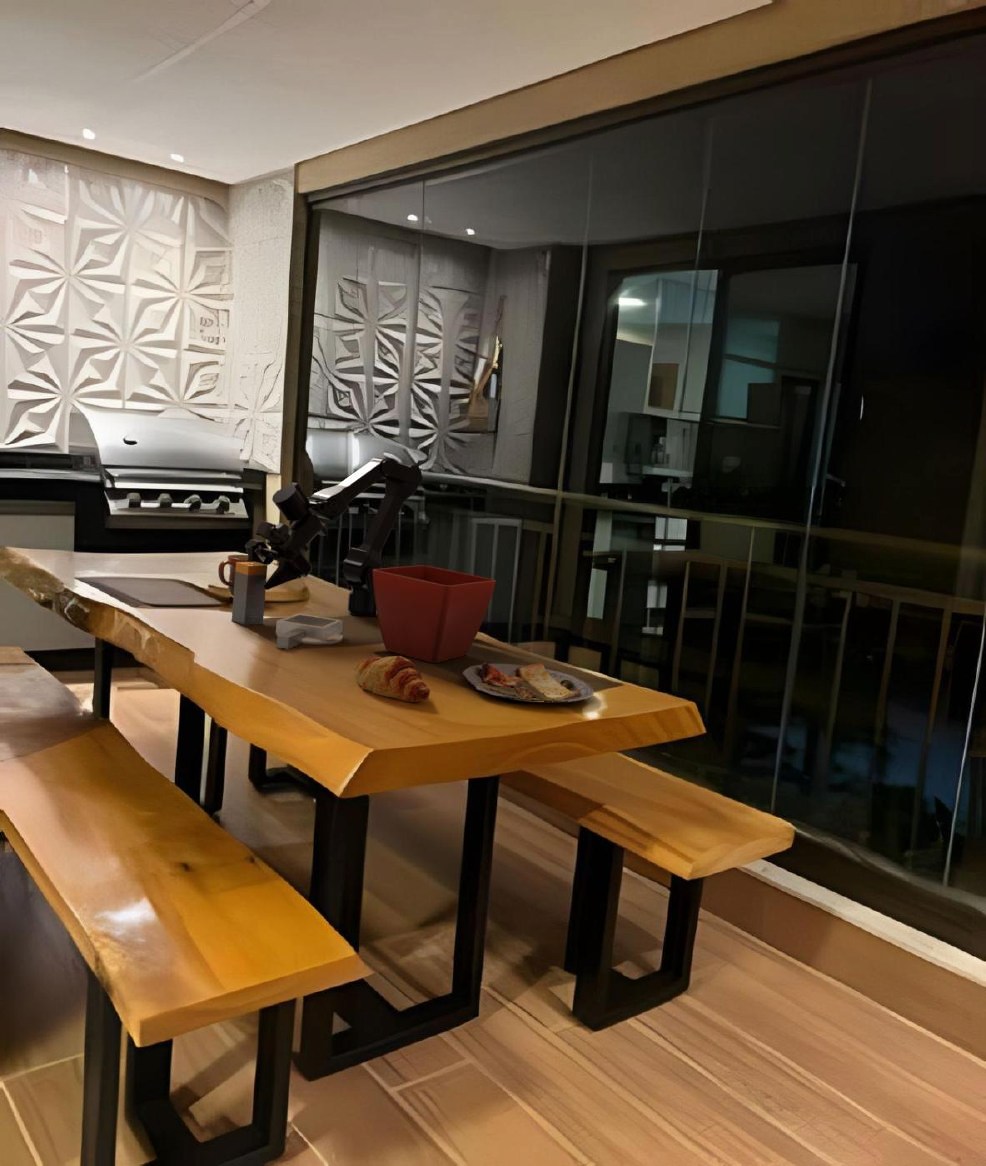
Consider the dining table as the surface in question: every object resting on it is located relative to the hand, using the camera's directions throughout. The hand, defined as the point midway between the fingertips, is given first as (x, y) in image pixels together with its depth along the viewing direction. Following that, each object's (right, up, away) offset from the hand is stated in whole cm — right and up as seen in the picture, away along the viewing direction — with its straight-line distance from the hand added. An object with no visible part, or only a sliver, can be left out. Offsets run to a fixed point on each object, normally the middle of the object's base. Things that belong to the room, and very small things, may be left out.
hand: (252, 584), depth 213 cm
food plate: (+59, -20, -30) cm, 69 cm away
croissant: (+35, -19, -41) cm, 57 cm away
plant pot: (+39, -15, -10) cm, 43 cm away
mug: (-10, -4, +26) cm, 28 cm away
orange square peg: (-1, -8, +1) cm, 8 cm away
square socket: (+13, -11, -10) cm, 20 cm away
